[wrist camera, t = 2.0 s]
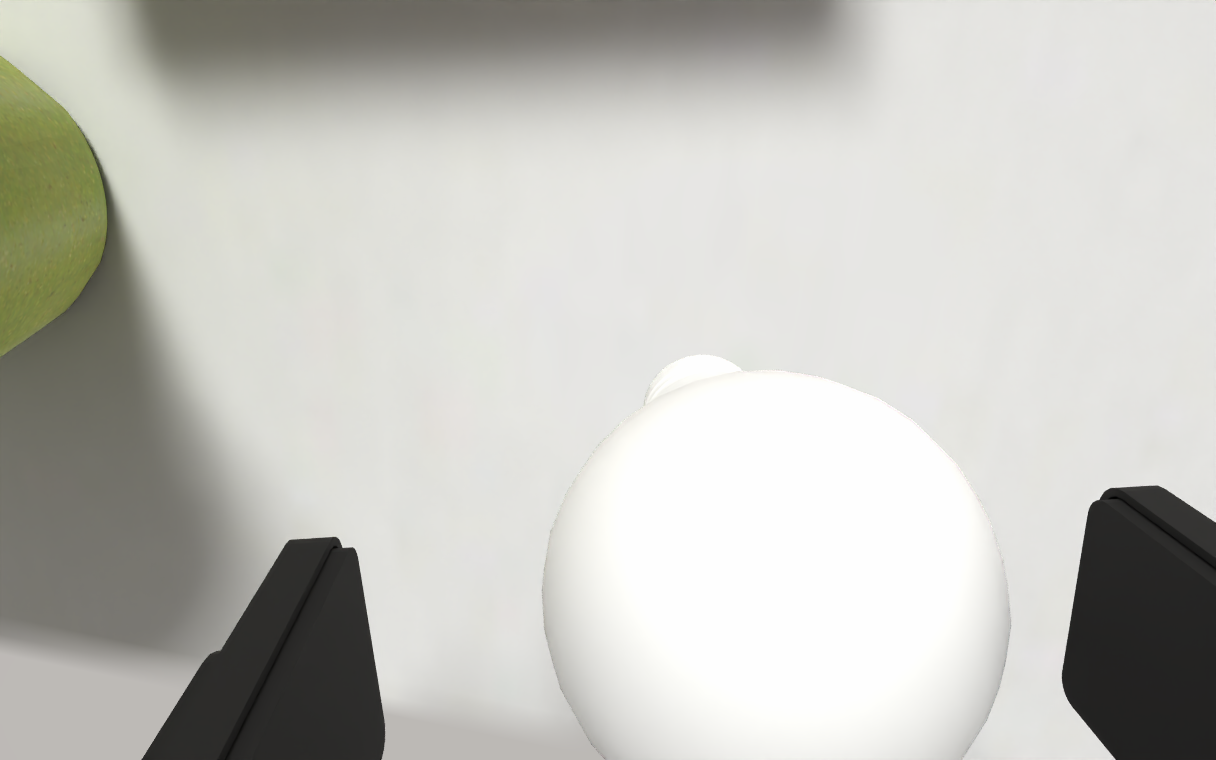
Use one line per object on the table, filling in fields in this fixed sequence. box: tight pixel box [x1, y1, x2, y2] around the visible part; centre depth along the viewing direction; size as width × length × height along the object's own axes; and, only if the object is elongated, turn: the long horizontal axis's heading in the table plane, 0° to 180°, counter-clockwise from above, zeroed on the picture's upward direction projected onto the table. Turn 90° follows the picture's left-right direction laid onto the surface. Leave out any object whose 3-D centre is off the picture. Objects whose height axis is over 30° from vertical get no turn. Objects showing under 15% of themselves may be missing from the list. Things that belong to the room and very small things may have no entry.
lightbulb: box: [542, 355, 1011, 760], centre depth 14 cm, size 6×6×11 cm
